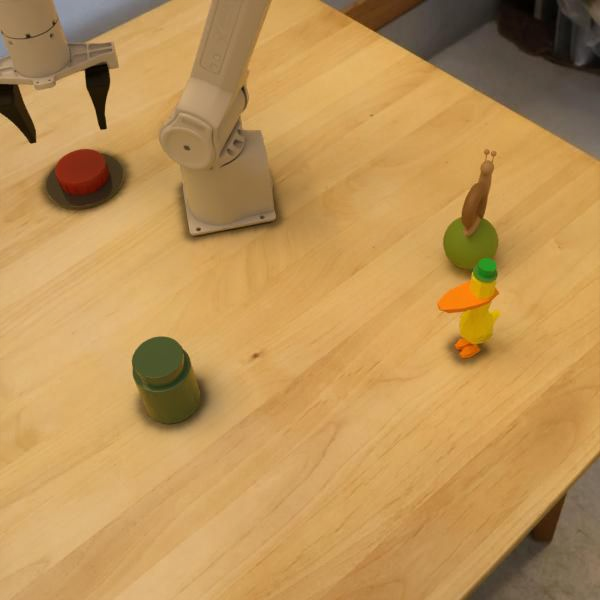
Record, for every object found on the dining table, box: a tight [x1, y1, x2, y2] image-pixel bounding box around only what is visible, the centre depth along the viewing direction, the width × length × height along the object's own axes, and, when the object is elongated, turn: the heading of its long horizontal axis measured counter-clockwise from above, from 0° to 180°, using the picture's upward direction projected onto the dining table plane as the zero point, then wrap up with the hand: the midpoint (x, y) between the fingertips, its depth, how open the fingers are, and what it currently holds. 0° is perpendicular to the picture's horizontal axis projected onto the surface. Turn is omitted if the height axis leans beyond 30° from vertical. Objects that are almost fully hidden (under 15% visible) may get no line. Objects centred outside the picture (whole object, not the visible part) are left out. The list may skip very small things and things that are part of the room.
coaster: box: [45, 152, 125, 210], centre depth 99 cm, size 9×9×1 cm
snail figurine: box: [442, 148, 499, 270], centre depth 83 cm, size 5×6×12 cm
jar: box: [131, 335, 201, 425], centre depth 77 cm, size 5×5×7 cm
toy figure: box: [436, 258, 503, 359], centre depth 76 cm, size 7×4×12 cm, turn 112°
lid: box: [54, 148, 109, 195], centre depth 98 cm, size 6×6×2 cm
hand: (68, 130), depth 93 cm, fingers open, 7 cm apart
